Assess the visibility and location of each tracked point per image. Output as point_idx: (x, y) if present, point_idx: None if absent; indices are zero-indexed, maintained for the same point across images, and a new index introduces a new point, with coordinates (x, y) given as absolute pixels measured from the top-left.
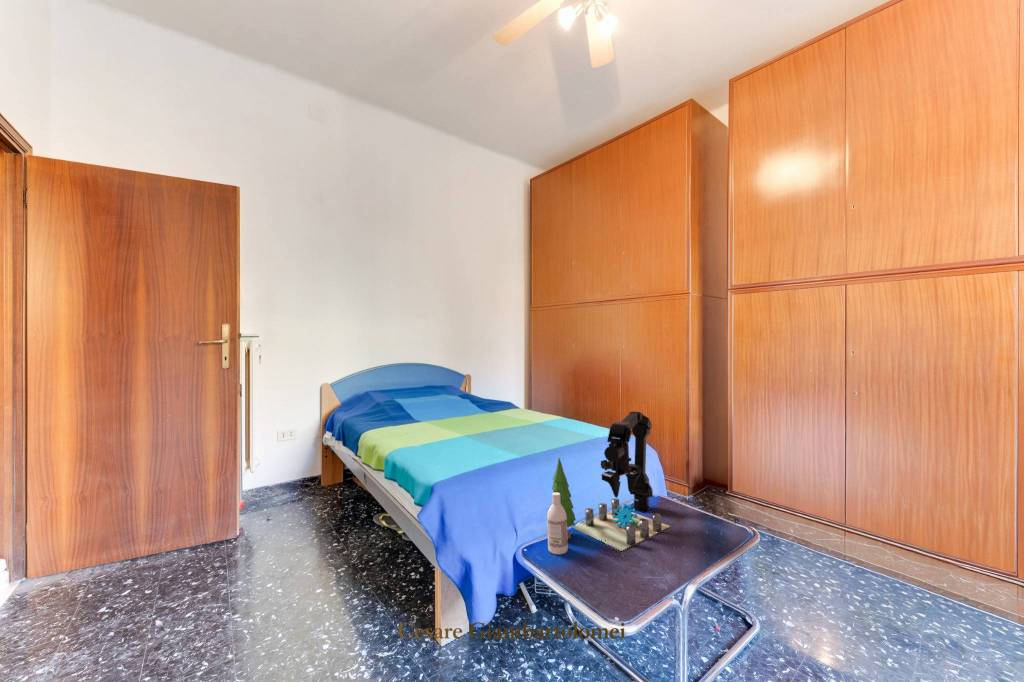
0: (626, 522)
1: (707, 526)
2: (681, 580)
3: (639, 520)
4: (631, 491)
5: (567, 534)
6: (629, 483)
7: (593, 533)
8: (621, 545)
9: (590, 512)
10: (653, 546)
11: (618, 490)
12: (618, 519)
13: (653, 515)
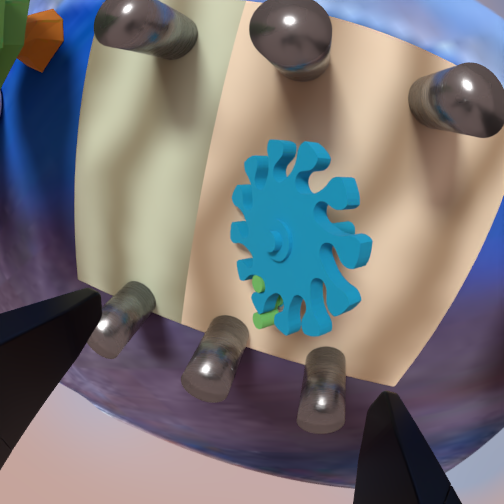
0: (253, 252)
1: (434, 443)
2: (105, 405)
3: (409, 266)
4: (374, 418)
5: (27, 63)
6: (387, 502)
7: (103, 116)
8: (102, 269)
9: (105, 43)
10: (188, 361)
11: (33, 397)
12: (260, 193)
13: (303, 413)
